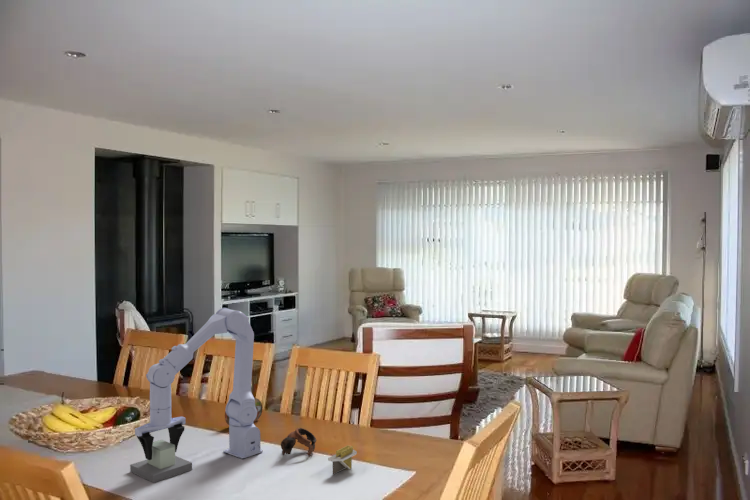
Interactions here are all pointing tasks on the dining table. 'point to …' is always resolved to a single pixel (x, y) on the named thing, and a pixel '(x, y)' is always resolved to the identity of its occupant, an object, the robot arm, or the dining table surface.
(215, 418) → the dining table surface
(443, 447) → the dining table surface
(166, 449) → the block
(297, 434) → the brown curved band
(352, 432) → the dining table surface
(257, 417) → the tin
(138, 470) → the stand
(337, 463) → the platform
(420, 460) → the dining table surface
